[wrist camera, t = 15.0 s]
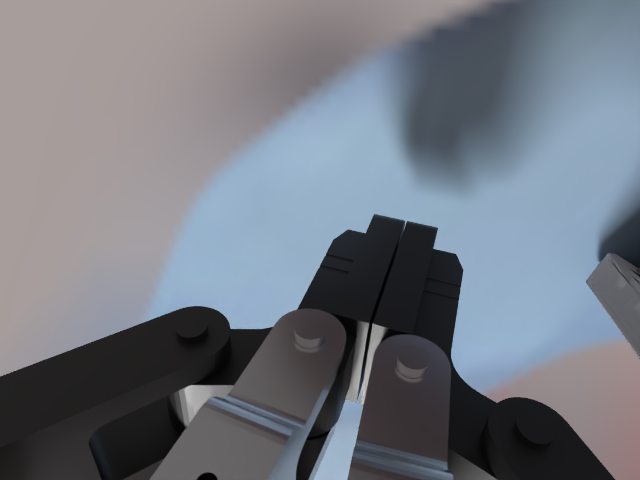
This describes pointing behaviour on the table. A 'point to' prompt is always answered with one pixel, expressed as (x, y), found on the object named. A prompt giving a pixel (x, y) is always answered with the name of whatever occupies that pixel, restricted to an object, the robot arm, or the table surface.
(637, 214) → the table surface
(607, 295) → the electrical switch
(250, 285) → the table surface
